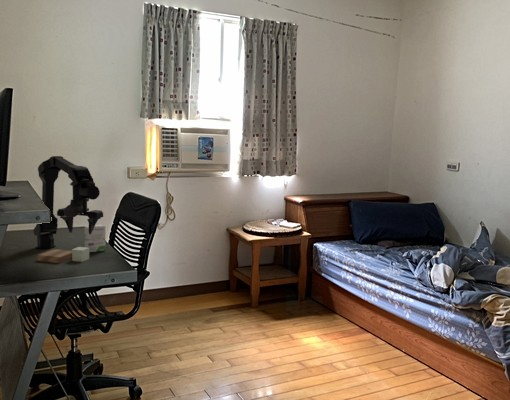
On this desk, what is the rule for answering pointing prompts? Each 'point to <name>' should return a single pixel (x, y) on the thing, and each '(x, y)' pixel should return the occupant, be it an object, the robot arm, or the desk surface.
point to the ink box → (95, 238)
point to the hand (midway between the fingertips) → (80, 233)
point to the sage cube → (80, 254)
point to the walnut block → (55, 256)
